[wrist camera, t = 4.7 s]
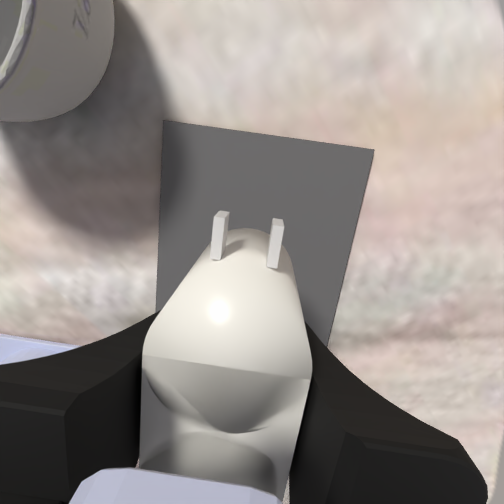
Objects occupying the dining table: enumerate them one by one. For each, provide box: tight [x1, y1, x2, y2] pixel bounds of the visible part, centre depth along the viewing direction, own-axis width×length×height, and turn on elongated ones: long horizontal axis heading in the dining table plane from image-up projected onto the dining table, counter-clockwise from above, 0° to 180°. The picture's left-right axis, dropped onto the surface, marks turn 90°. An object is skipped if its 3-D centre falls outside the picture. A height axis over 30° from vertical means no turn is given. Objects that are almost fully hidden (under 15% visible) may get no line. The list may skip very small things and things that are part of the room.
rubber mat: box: [156, 120, 374, 347], centre depth 20 cm, size 16×12×1 cm
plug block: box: [139, 211, 312, 502], centre depth 10 cm, size 9×4×6 cm, turn 172°
